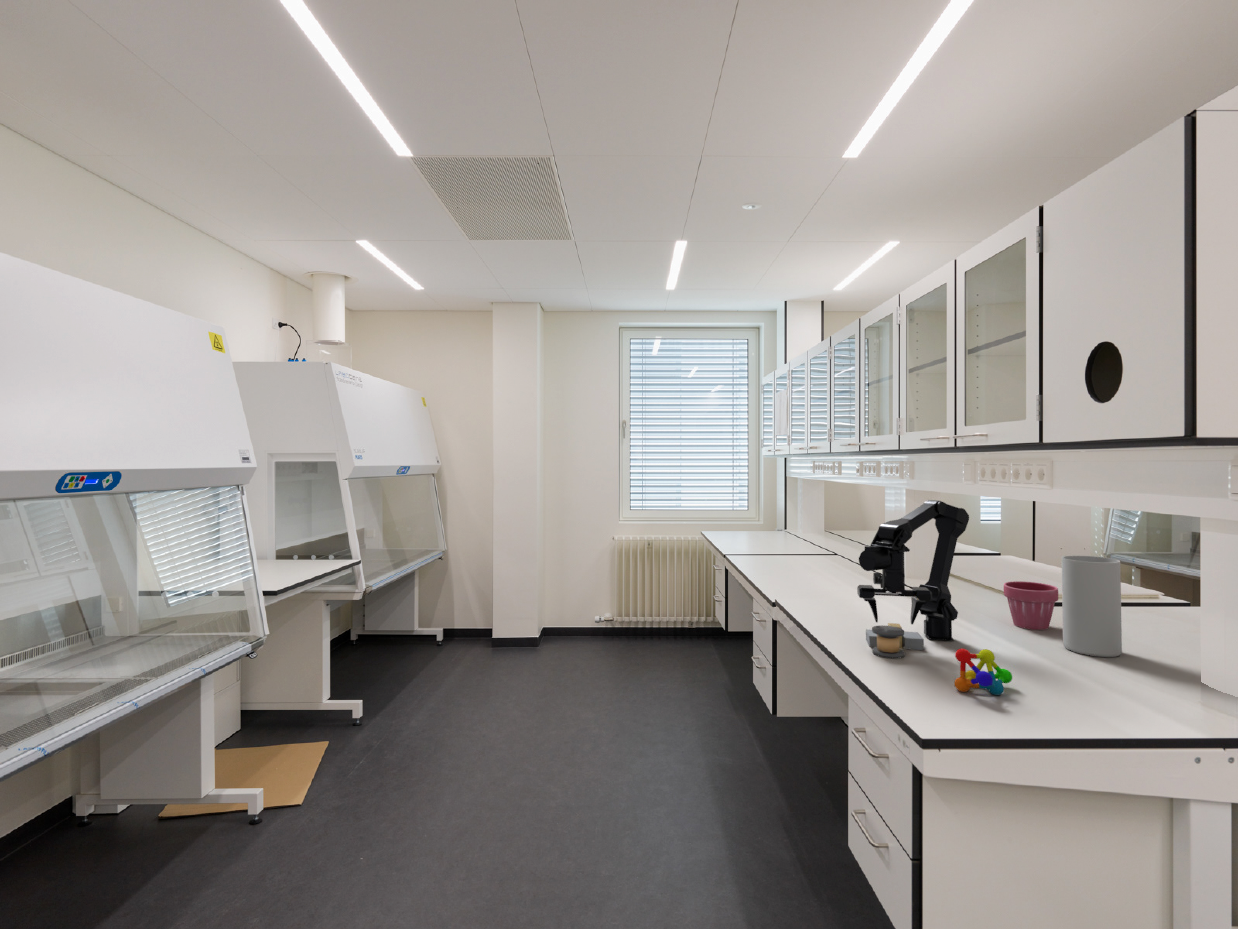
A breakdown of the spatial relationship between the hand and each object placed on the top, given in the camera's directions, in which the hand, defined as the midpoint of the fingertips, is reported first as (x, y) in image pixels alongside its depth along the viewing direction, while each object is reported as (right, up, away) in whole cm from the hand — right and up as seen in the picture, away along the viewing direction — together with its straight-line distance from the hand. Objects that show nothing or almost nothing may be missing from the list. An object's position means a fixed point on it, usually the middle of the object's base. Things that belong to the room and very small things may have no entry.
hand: (894, 623), depth 166 cm
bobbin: (-5, -7, -6) cm, 10 cm away
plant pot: (+52, -6, +18) cm, 55 cm away
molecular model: (+5, -7, -33) cm, 34 cm away
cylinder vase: (+51, -6, -6) cm, 52 cm away
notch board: (+1, -7, +2) cm, 7 cm away
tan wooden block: (0, -7, 0) cm, 7 cm away
